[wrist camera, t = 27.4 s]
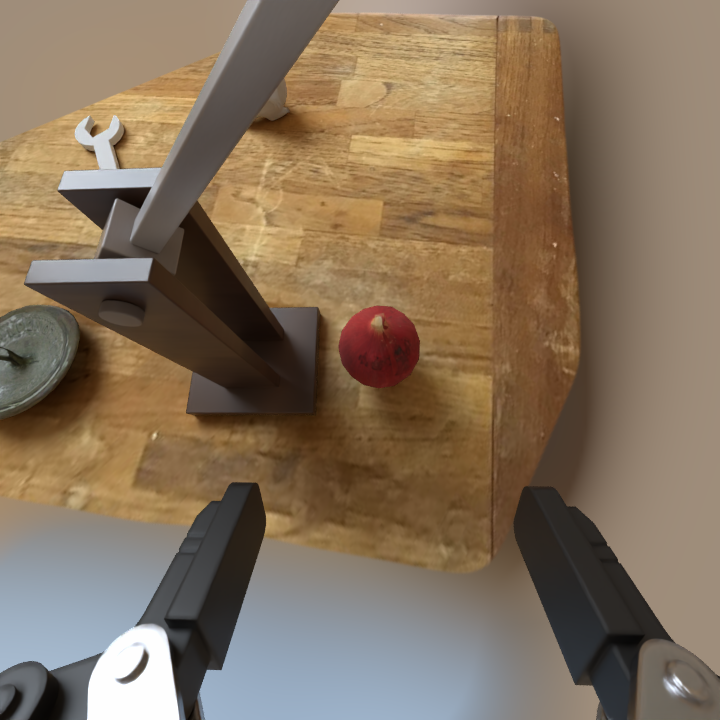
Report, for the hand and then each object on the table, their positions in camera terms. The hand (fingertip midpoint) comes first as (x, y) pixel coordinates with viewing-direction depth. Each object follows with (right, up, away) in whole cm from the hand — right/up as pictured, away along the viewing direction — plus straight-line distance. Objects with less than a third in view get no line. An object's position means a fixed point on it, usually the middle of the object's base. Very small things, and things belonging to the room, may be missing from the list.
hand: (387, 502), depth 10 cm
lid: (-29, +4, +19) cm, 35 cm away
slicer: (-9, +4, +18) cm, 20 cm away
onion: (+1, +4, +17) cm, 18 cm away
